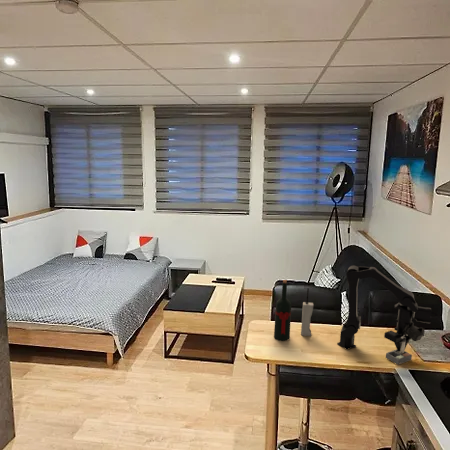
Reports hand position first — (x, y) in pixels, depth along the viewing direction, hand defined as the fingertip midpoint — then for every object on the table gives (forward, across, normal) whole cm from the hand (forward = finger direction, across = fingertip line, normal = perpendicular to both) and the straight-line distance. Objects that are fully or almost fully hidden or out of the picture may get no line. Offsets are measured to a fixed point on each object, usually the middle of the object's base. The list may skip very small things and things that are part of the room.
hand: (400, 350), depth 177 cm
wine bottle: (+4, -38, +39) cm, 55 cm away
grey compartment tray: (+3, -2, -1) cm, 4 cm away
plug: (+3, 0, 0) cm, 3 cm away
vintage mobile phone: (+4, -24, +37) cm, 45 cm away
